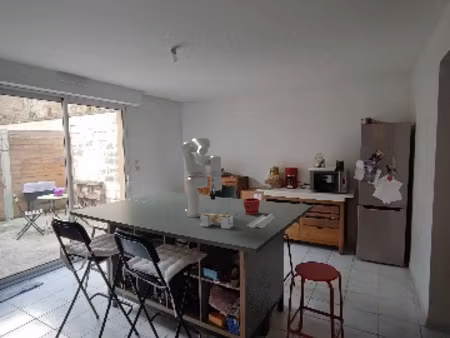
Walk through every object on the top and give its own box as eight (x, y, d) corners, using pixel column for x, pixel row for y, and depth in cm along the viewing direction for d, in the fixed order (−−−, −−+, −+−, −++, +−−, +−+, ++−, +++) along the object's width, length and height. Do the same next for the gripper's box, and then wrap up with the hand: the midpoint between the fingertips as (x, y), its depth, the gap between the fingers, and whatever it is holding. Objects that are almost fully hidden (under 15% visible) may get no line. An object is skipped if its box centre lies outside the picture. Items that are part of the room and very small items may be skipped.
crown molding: (261, 217, 220) (261, 212, 219) (276, 219, 214) (276, 214, 214) (246, 227, 192) (246, 222, 192) (262, 229, 186) (262, 224, 186)
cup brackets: (200, 226, 196) (200, 215, 195) (205, 223, 203) (205, 213, 202) (229, 229, 187) (229, 218, 186) (233, 226, 194) (233, 215, 193)
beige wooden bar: (203, 221, 197) (203, 214, 196) (206, 220, 200) (206, 213, 200) (227, 223, 189) (227, 216, 189) (229, 222, 193) (229, 215, 193)
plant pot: (247, 211, 240) (247, 197, 239) (262, 212, 233) (261, 198, 232) (240, 214, 228) (240, 199, 228) (255, 216, 222) (255, 201, 221)
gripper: (215, 175, 183) (215, 201, 184) (225, 172, 199) (225, 196, 200) (205, 174, 186) (205, 200, 187) (216, 172, 202) (216, 195, 203)
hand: (216, 198), depth 194 cm, fingers open, 9 cm apart
